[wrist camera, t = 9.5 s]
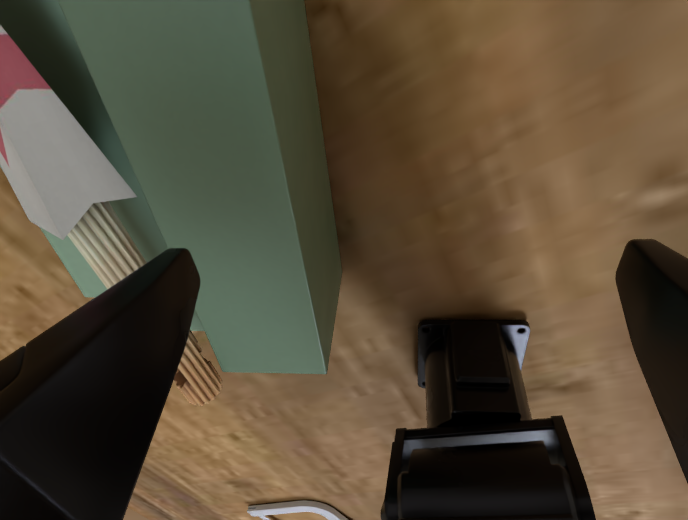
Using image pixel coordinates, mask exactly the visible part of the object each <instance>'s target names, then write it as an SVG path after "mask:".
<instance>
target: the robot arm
mask: <svg viewBox="0 0 688 520" xmlns="http://www.w3.org/2000/svg"><path fill="white" fill-rule="evenodd" d="M200 283H201V281H200V275H199V272H198V270H197V267H196V265H195V262H194V260H193V258H192V255H191V253H190V251H189V250H188V249H186V248H169V249H167V250H165V251H164V252H162V253H161V254H159V255H158V256H156V257H155V258H153V259H152V260H150V261H149V262H147V263H146V264H144V265H143V266H141V267H140V268H138V269H137V270H135V271H134V272H132V273H131V274H129V275H128V276H126V277H125V278H124V279H122V280H121V281H119V282H118V283H116V284H115V285H113V286H112V287H110V288H109V289H107V290H106V291H104V292H103V293H101V294H100V295H98V296H97V297H95V298H94V299H92V300H91V301H89V302H88V303H86V304H85V305H83V306H82V307H80V308H79V309H77V310H76V311H74V312H73V313H71V314H70V315H68V316H67V317H65V318H64V319H62V320H61V321H59V322H58V323H57V324H55V325H54V326H52V327H51V328H49V329H48V330H46V331H45V332H43V333H42V334H40V335H39V336H37V337H36V338H34V339H33V340H31V341H30V342H28V343H27V344H26V347H25V346H22V347H21V348H19V349H18V350H16V351H15V352H13V353H12V354H10V355H9V356H7V357H6V358H4V359H3V360H1V361H0V520H123V518H124V515H125V512H126V509H127V507H128V504H129V501H130V499H131V496H132V493H133V490H134V488H135V485H136V482H137V479H138V477H139V474H140V471H141V468H142V465H143V463H144V460H145V457H146V454H147V452H148V449H149V446H150V443H151V441H152V438H153V435H154V432H155V430H156V427H157V424H158V421H159V419H160V416H161V413H162V410H163V408H164V405H165V402H166V399H167V396H168V394H169V391H170V388H171V385H172V383H173V380H174V377H175V374H176V372H177V369H178V366H179V363H180V361H181V358H182V355H183V352H184V349H185V346H186V343H187V339H188V336H189V331H190V327H191V323H192V319H193V315H194V310H195V306H196V302H197V298H198V293H199V289H200ZM616 285H617V289H618V292H619V296H620V300H621V304H622V308H623V312H624V315H625V319H626V323H627V327H628V331H629V334H630V338H631V342H632V345H633V348H634V351H635V354H636V357H637V359H638V362H639V364H640V367H641V369H642V372H643V374H644V377H645V379H646V382H647V384H648V387H649V389H650V392H651V394H652V397H653V399H654V401H655V404H656V406H657V409H658V411H659V414H660V416H661V419H662V421H663V424H664V426H665V429H666V431H667V434H668V436H669V438H670V441H671V443H672V446H673V448H674V451H675V453H676V456H677V458H678V461H679V463H680V466H681V468H682V471H683V473H684V476H685V478H686V480H687V483H688V259H687V258H686V257H684V256H682V255H681V254H679V253H677V252H675V251H674V250H672V249H670V248H668V247H667V246H665V245H663V244H662V243H660V242H658V241H656V240H654V239H633V240H630V241H629V242H628V243H627V244H626V246H625V249H624V252H623V254H622V257H621V260H620V262H619V265H618V268H617V271H616ZM426 327H427V328H426ZM519 328H521V329H519ZM529 334H530V327H529V324H528V322H526V321H524V320H422V321H420V322H419V323H418V385H419V386H420V387H422V388H426V411H427V428H421V429H408V430H407V429H406V428H400V429H396V435H395V442H393V443H392V450H391V458H390V465H389V472H388V479H387V486H386V493H385V499H384V502H383V506H382V509H381V520H596V518H595V514H594V510H593V506H592V502H591V499H590V495H589V492H588V488H587V485H586V482H585V479H584V476H583V473H582V471H581V468H580V465H579V462H578V459H577V456H576V454H575V451H574V448H573V445H572V442H571V439H570V437H569V434H568V431H567V428H566V425H565V422H564V420H563V417H562V415H561V416H551V418H546V419H533V420H532V418H531V413H530V409H529V405H528V400H527V396H526V392H525V387H524V383H523V379H522V374H521V368H522V364H523V359H524V355H525V351H526V347H527V342H528V338H529Z"/></svg>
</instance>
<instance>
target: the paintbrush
mask: <svg viewBox="0 0 688 520" xmlns="http://www.w3.org/2000/svg"><path fill="white" fill-rule="evenodd" d="M0 165H1V167H2V169H3V171H4V173H5V175H6V177H7V179H8V181H9V183H10V184H11V186H12V188H13V190H14V192H15V194H16V196H17V198H18V200H19V202H20V203H21V205H22V207H23V209H24V211H25V213H26V215H27V217H28V219H29V221H30V222H32V223H34V224H36V225H37V226H39V227H41V228H43V229H44V230H46V231H48V232H50V233H51V234H53V235H55V236H57V237H58V238H60V239H62V240H64V238H65V237H66V236H67V235H68V237H69V238H70V239H71V241H72V242H73V243H74V245H75V246H76V247H77V249H78V250H79V251H80V253H81V254H82V255H83V257H84V258H85V259H86V261H87V262H88V263H89V265H90V266H91V267H92V269H93V270H94V271H95V273H96V274H97V276H98V277H99V278H100V280H101V281H102V282H103V284H104V285H105V286H106V288H107V289H109V288H110V287H112V286H113V285H115V284H116V283H118V282H119V281H121V280H122V279H124V278H125V277H126V276H128V275H129V274H131V273H132V272H134V271H135V270H137V269H138V268H140V267H141V266H143V265H144V264H146V263H147V262H146V260H145V259H144V257H143V256H142V254H141V253H140V251H139V250H138V248H137V247H136V245H135V244H134V242H133V240H132V239H131V237H130V235H129V234H128V232H127V231H126V229H125V227H124V226H123V224H122V222H121V221H120V219H119V218H118V216H117V214H116V213H115V211H114V210H113V208H112V206H111V205H110V203H109V201H113V200H120V199H127V198H134V197H137V196H136V194H135V193H134V192H133V191H132V189H131V188H130V187H129V186H128V184H127V183H126V182H125V181H124V179H123V178H122V177H121V176H120V174H119V173H118V172H117V171H116V169H115V168H114V167H113V166H112V164H111V163H110V162H109V161H108V159H107V158H106V157H105V156H104V154H103V153H102V152H101V150H100V149H99V148H98V147H97V145H96V144H95V143H94V142H93V140H92V139H91V138H90V137H89V135H88V134H87V133H86V132H85V130H84V129H83V128H82V127H81V125H80V124H79V123H78V122H77V120H76V119H75V118H74V117H73V115H72V114H71V113H70V112H69V110H68V109H67V108H66V107H65V105H64V104H63V103H62V102H61V100H60V99H59V98H58V96H57V95H56V94H55V93H54V91H53V90H52V89H51V88H50V86H49V85H48V84H47V83H46V81H45V80H44V79H43V78H42V76H41V75H40V74H39V73H38V71H37V70H36V69H35V68H34V66H33V65H32V64H31V63H30V61H29V60H28V59H27V58H26V56H25V55H24V54H23V53H22V51H21V50H20V49H19V47H18V46H17V45H16V44H15V42H14V41H13V40H12V39H11V37H10V36H9V35H8V34H7V32H6V31H5V30H4V29H3V27H2V26H1V25H0ZM197 343H198V341H197V340H196V338H195V337H194V335H193V334H192V332H191V330H190V331H189V336H188V339H187V343H186V346H185V349H184V352H183V355H182V358H181V361H180V363H179V366H178V369H177V372H176V374H175V377H174V380H175V382H176V383H177V384H176V385H177V387H178V388H179V390H180V391H181V393H182V394H183V395H184V397H185V398H186V400H187V401H188V402H189V403H190V404H193V405H195V406H196V405H200V406H202V405H203V404H204V403H205V404H208V403H209V402H210V400H214V399H215V396H216V395H218V394H219V393H220V390H221V389H222V380H221V378H220V376H219V375H218V373H217V371H216V370H215V368H214V367H213V365H212V364H211V362H210V361H207V360H206V359H205V358H203V357H202V355H201V354H200V352H201V348H200V347H199V345H198V344H197Z"/></svg>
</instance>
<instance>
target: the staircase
mask: <svg viewBox="0 0 688 520" xmlns="http://www.w3.org/2000/svg"><path fill="white" fill-rule="evenodd" d="M0 25H1V26H2V27H3V29H4V30H5V31H6V32H7V34H8V35H9V36H10V37H11V39H12V40H13V41H14V42H15V44H16V45H17V46H18V47H19V49H20V50H21V51H22V53H23V54H24V55H25V56H26V58H27V59H28V60H29V61H30V63H31V64H32V65H33V66H34V68H35V69H36V70H37V71H38V73H39V74H40V75H41V76H42V78H43V79H44V80H45V81H46V83H47V84H48V85H49V86H50V88H51V89H52V90H53V91H54V93H55V94H56V95H57V96H58V98H59V99H60V100H61V102H62V103H63V104H64V105H65V107H66V108H67V109H68V110H69V112H70V113H71V114H72V115H73V117H74V118H75V119H76V120H77V122H78V123H79V124H80V125H81V127H82V128H83V129H84V130H85V132H86V133H87V134H88V135H89V137H90V138H91V139H92V140H93V142H94V143H95V144H96V145H97V147H98V148H99V149H100V150H101V152H102V153H103V154H104V156H105V157H106V158H107V159H108V161H109V162H110V163H111V164H112V166H113V167H114V168H115V169H116V171H117V172H118V173H119V174H120V176H121V177H122V178H123V179H124V181H125V182H126V183H127V184H128V186H129V187H130V188H131V189H132V191H133V192H134V193H135V194H136V196H137V197H134V198H127V199H120V200H113V201H109V203H110V205H111V206H112V208H113V210H114V211H115V213H116V214H117V216H118V218H119V219H120V221H121V222H122V224H123V226H124V227H125V229H126V231H127V232H128V234H129V235H130V237H131V239H132V240H133V242H134V244H135V245H136V247H137V248H138V250H139V251H140V253H141V254H142V256H143V257H144V259H145V260H146V262H149V261H150V260H152V259H153V258H155V257H156V256H158V255H159V254H161V253H162V252H164V251H165V250H167V249H169V248H186V249H188V250H189V251H190V253H191V255H192V258H193V260H194V262H195V265H196V267H197V270H198V272H199V275H200V281H201V283H200V289H199V293H198V298H197V302H196V306H195V310H194V315H193V319H192V323H191V327H190V330H191V331H205V333H206V335H207V337H208V340H209V342H210V344H211V346H212V349H213V351H214V353H215V355H216V358H217V360H218V362H219V364H220V367H221V369H222V371H223V372H252V373H300V374H327V370H328V363H329V356H330V350H331V343H332V336H333V330H334V323H335V317H336V310H337V303H338V297H339V290H340V284H341V277H342V267H341V260H340V253H339V245H338V238H337V231H336V224H335V217H334V210H333V202H332V195H331V188H330V181H329V174H328V167H327V160H326V152H325V145H324V138H323V131H322V124H321V117H320V109H319V102H318V95H317V88H316V81H315V74H314V66H313V59H312V52H311V45H310V38H309V31H308V24H307V16H306V9H305V2H304V0H0ZM0 167H1V165H0ZM1 168H2V167H1ZM2 170H3V169H2ZM40 228H41V227H40ZM41 230H42V232H43V233H44V235H45V236H46V238H47V239H48V241H49V242H50V244H51V245H52V247H53V249H54V250H55V252H56V253H57V255H58V256H59V258H60V259H61V261H62V262H63V264H64V265H65V267H66V269H67V270H68V272H69V273H70V275H71V276H72V278H73V279H74V281H75V282H76V284H77V286H78V287H79V289H80V290H81V292H82V293H83V295H84V296H85V297H97V296H98V295H100V294H101V293H103V292H104V291H106V290H107V288H106V286H105V285H104V284H103V282H102V281H101V280H100V278H99V277H98V276H97V274H96V273H95V271H94V270H93V269H92V267H91V266H90V265H89V263H88V262H87V261H86V259H85V258H84V257H83V255H82V254H81V253H80V251H79V250H78V249H77V247H76V246H75V245H74V243H73V242H72V241H71V239H70V238H69V237H68V235H67V236H66V237H65V238H64V240H62V239H60V238H58V237H57V236H55V235H53V234H51V233H50V232H48V231H46V230H44V229H43V228H41Z"/></svg>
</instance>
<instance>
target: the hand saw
mask: <svg viewBox="0 0 688 520" xmlns="http://www.w3.org/2000/svg"><path fill="white" fill-rule="evenodd" d="M247 512H248V513H250V515H251V516H253V517H254V516H259V517H260V518H262V519H263V520H270V519H268V518H267V517H265V515H275V514H285V513H296V512H314V513H318V514H321V515H322V516H324V517H326V518H327V519H329V520H348V519H347V518H346V517H344V516H343V515H342V514H340V513H339V512H338V511H336V510H335V509H334V508H332V507H330V506H328V505H326V504H323V503H320V502H315V501H306V500H302V501H292V502H283V503H273V504H264V505H254V506H248V510H247Z"/></svg>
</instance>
